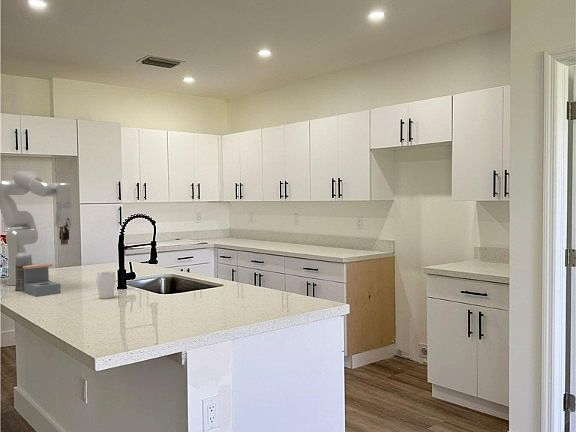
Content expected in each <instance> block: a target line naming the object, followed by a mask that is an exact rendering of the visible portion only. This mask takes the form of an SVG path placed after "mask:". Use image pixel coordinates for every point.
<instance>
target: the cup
mask: <svg viewBox="0 0 576 432" xmlns="http://www.w3.org/2000/svg"><path fill="white" fill-rule="evenodd" d="M116 278H117V277H116V272H114V271H103V272H98V273H96V279H95V280H96V285H97V292H98V297H99V298H100V299H111V298H113V297H115V296H114V295H115V287H116Z"/></svg>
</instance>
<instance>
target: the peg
mask: <svg viewBox="0 0 576 432" xmlns="http://www.w3.org/2000/svg"><path fill="white" fill-rule="evenodd" d="M65 227H67V225H65ZM65 229H66V228H65ZM63 233H64V232H63V227H61V239H60V245H62V246H65V245H69V240H63Z"/></svg>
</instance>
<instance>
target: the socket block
mask: <svg viewBox="0 0 576 432" xmlns="http://www.w3.org/2000/svg"><path fill="white" fill-rule="evenodd" d="M50 267H53V264H52V263H41V264H39V263H38V264H32V265H28V266H23V268H24V292H23V293H24V294H28V295H31V296H33V297H36V298H37V297H44V295H45V296H51V295H50V294H52V295H58V294H57V293H59V294H61V283H59V282H55V281H51V280H50V279H49V278H50V277H49V276H50V275H49V268H50Z"/></svg>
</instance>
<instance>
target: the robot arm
mask: <svg viewBox="0 0 576 432" xmlns="http://www.w3.org/2000/svg"><path fill="white" fill-rule="evenodd" d="M11 179H12V180H11ZM11 179H10V180H9V179H8V180H7V179H6V180H5V179H4V180H0V213H1V216H2V219H3V220H2V221H3V223H4V225H5V226H6V227H7V228H10V230H8V231H7V232H6V235H5V241H6V244H7V251H8V252H7V255H8V256H7V257H8V281H6V282H5V285H6V286H16V268H15V267H16V255H17V254H18V253H26V252H28V251H27V249H26V247H25V245H32V244H35V243H37V242H38V241H39V233H38V229H37V225H36V223H35V219H34V217H33V215H32V213H31V212H29V211H28V210H19V209H18V207H17V203H16V202H15V200H14V199H13V198H12V197H11V196H23V195H27V194H28V193H29V192H31V193H32V194H33V195H37V196H39V197H40V196H41V197H55V206H56V207H55V208H56V211H55V226H56V227H57V228H58V232H59V233H58V234H59V235H58V236H59V237H58V238H59V240H61V227H63V232H64V233H63V240H68V241H70V229H71V227H72V185H71V184H70V183H69V182H43V180H42V178H41V176H40V174H39V173H38V172H36V171H33V170H18V171H15V172H14V173H13V175H12V177H11ZM65 225H67V227H65ZM11 228H12V229H11ZM13 228H14V229H13ZM65 228H66V229H65Z"/></svg>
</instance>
